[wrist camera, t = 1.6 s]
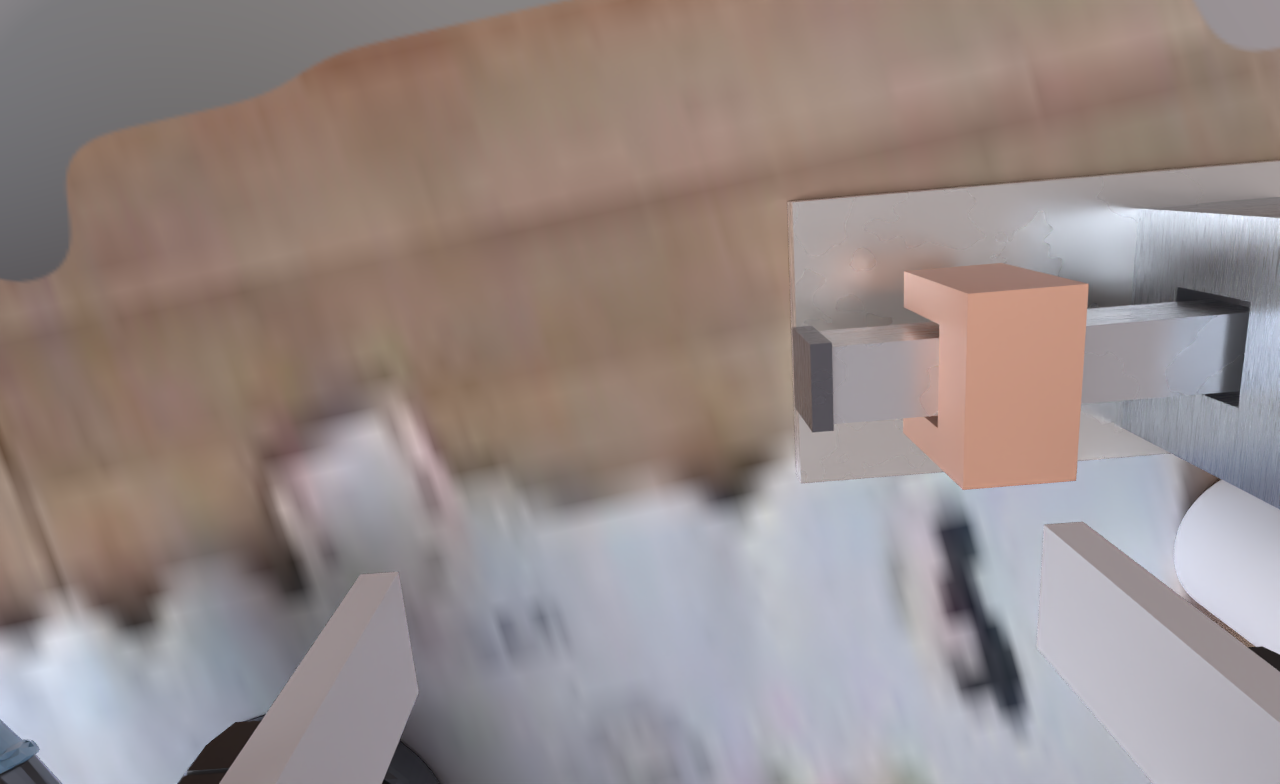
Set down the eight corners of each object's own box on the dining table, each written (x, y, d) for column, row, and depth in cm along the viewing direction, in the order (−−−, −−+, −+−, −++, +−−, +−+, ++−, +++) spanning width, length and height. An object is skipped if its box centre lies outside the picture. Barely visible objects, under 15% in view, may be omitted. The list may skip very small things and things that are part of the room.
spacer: (903, 432, 35) (963, 489, 28) (903, 271, 33) (968, 293, 27) (995, 425, 35) (1075, 480, 28) (1001, 262, 33) (1088, 283, 27)
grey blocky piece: (796, 474, 39) (859, 588, 28) (787, 201, 36) (854, 213, 25) (1249, 437, 39) (1486, 538, 28) (1283, 159, 36) (1569, 152, 25)
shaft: (794, 407, 34) (812, 432, 30) (792, 327, 33) (810, 344, 29) (1198, 374, 33) (1259, 396, 30) (1206, 293, 32) (1271, 306, 29)
